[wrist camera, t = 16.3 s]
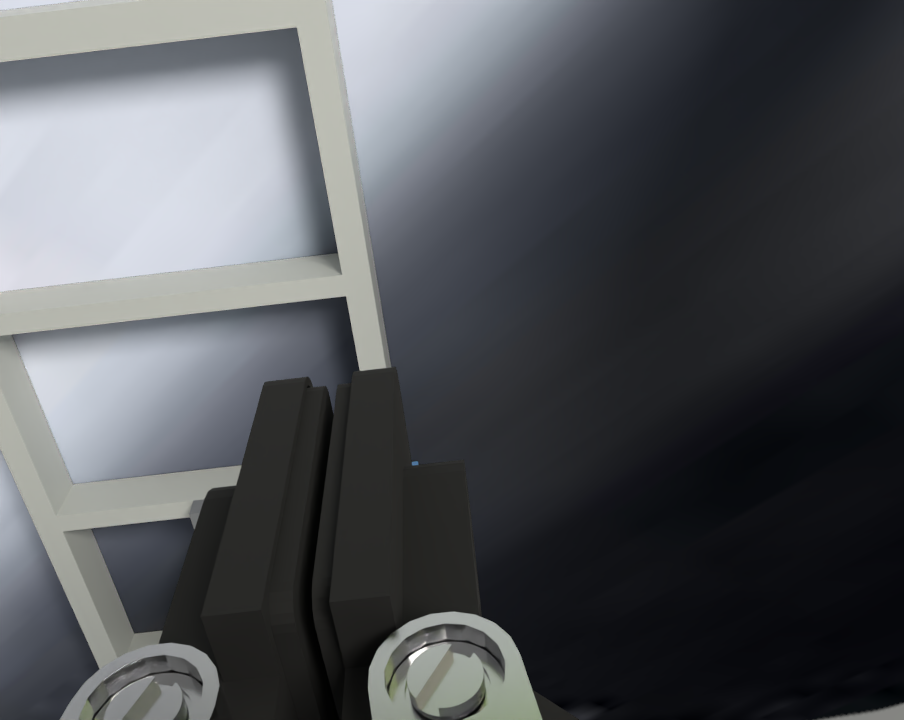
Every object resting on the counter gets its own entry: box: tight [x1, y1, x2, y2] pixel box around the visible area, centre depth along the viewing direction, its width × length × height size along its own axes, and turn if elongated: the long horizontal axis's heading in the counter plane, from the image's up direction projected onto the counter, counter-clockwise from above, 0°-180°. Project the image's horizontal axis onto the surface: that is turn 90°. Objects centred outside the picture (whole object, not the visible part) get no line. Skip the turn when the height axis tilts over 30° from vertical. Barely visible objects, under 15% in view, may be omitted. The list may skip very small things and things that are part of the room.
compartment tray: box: [0, 0, 419, 669], centre depth 40 cm, size 19×35×4 cm, turn 6°
